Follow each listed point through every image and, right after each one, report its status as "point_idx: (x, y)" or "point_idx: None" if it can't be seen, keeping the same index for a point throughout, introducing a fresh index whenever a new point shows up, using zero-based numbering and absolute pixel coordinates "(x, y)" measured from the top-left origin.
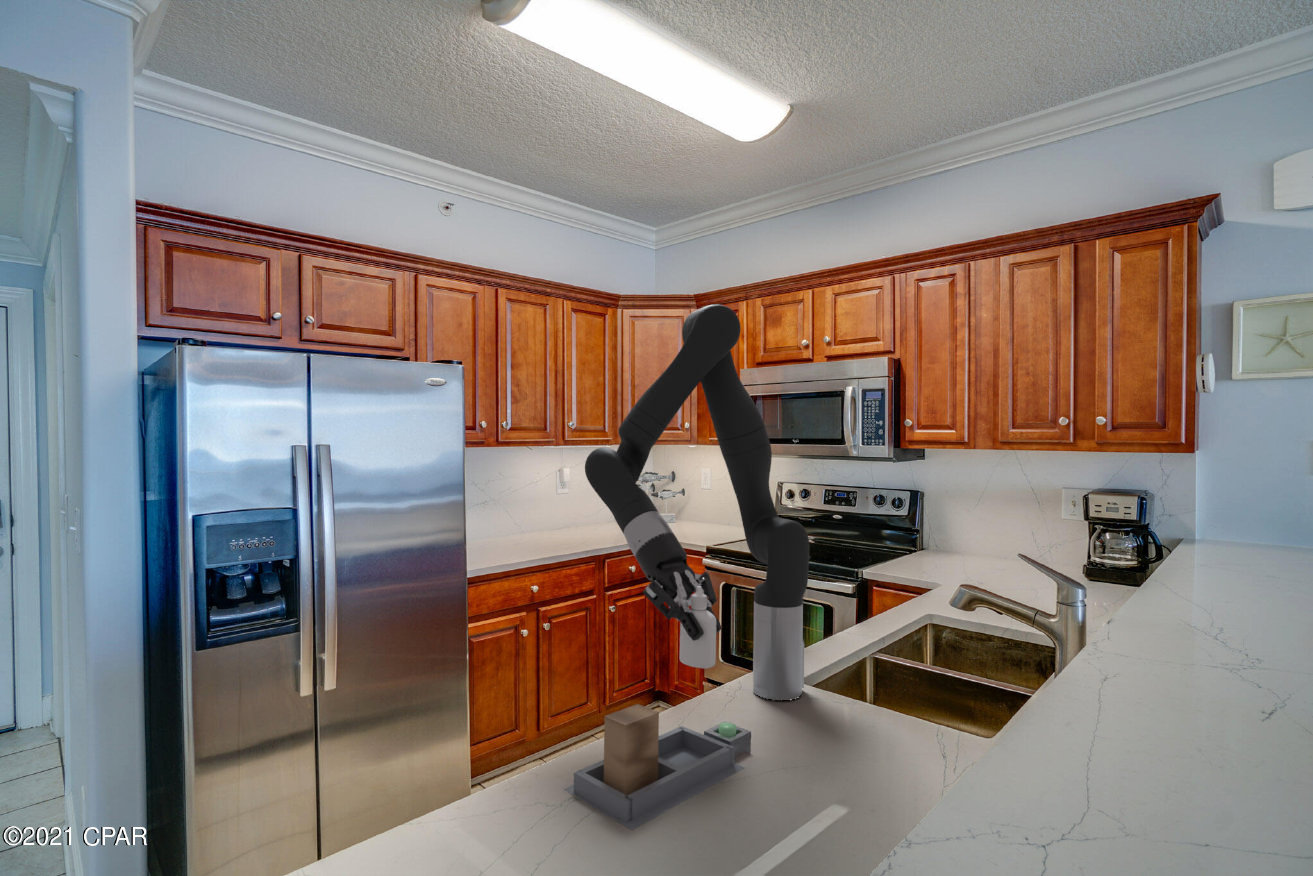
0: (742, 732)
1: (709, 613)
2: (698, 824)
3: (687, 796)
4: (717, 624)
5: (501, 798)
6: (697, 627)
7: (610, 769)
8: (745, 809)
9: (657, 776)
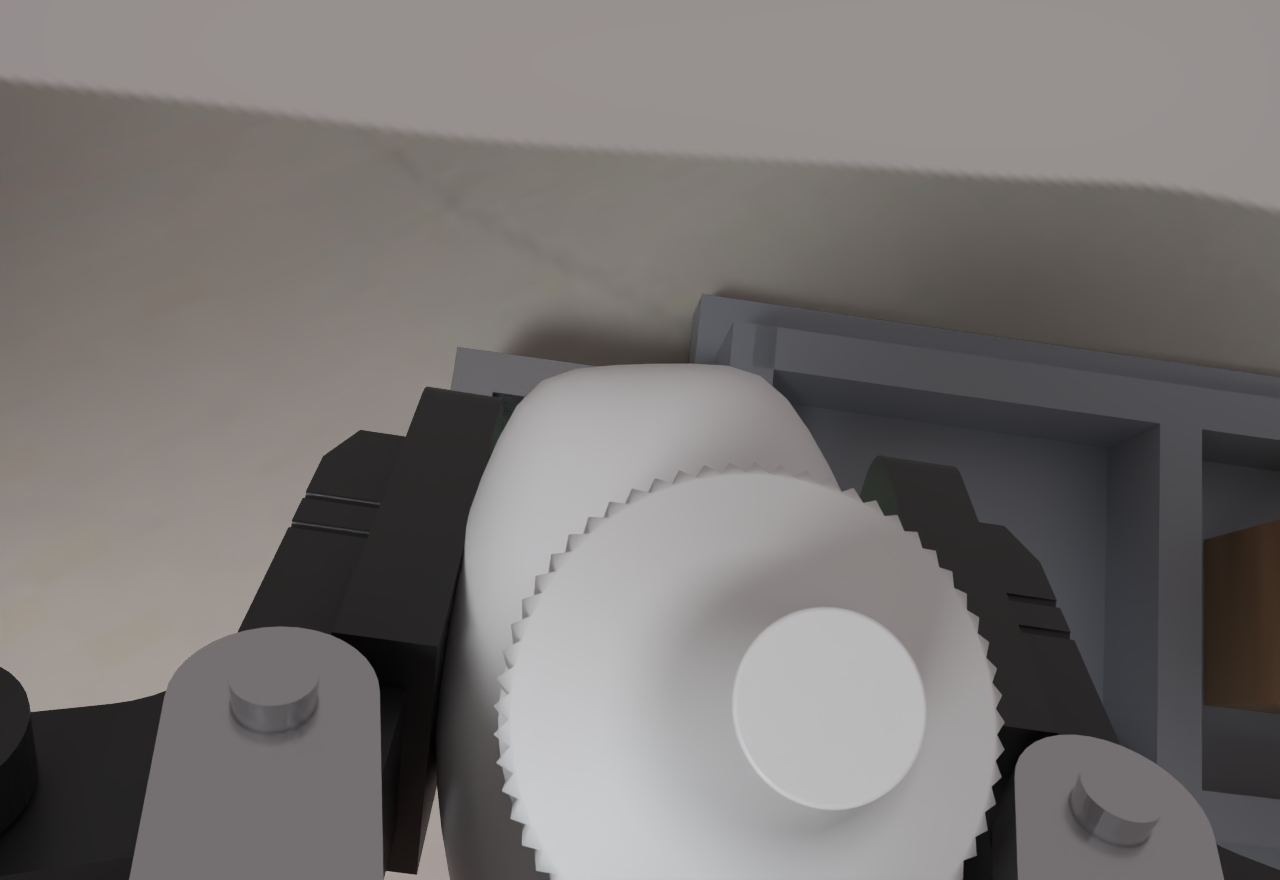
0: (507, 384)
1: (649, 449)
2: (1186, 282)
3: (1152, 376)
4: (474, 419)
5: None
6: (973, 522)
7: None
8: (943, 178)
9: (1246, 529)
